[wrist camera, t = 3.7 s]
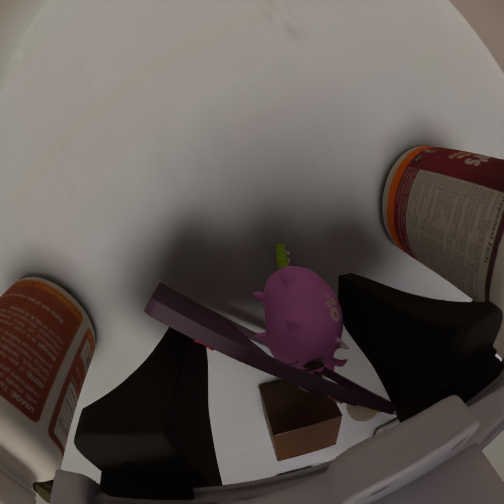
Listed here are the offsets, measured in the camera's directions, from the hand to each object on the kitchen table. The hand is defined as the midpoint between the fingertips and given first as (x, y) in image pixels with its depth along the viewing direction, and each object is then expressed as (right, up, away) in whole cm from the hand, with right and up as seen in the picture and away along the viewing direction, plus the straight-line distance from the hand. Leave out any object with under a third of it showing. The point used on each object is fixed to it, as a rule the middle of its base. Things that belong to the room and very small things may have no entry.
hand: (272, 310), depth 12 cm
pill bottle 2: (+8, +6, +2) cm, 10 cm away
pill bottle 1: (-12, -1, +1) cm, 12 cm away
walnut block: (+2, -7, +5) cm, 9 cm away
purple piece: (0, +1, +1) cm, 1 cm away
